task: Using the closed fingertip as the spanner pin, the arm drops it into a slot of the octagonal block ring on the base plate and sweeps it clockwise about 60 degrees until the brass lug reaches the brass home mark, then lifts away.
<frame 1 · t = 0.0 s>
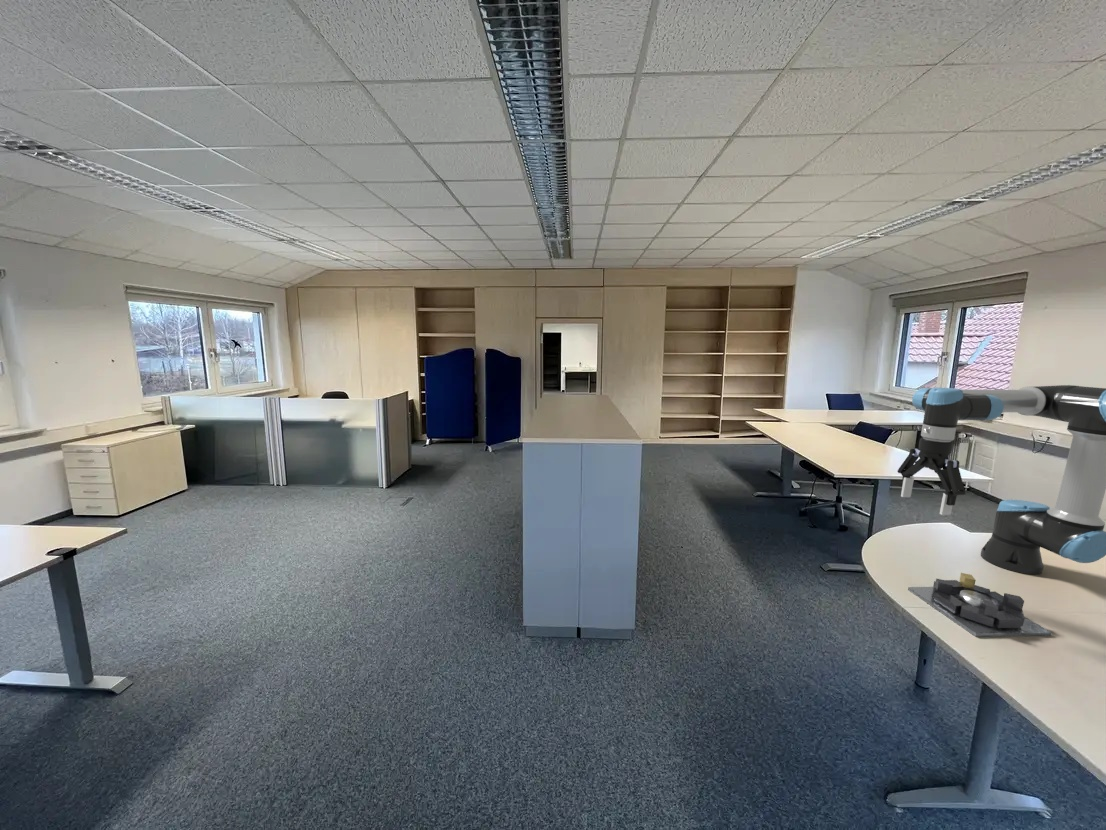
hand: (924, 505, 130), 28 cm above the table, fingers open, 13 cm apart
base plate: (973, 610, 123), on the table
octagonal block ring: (976, 597, 122), point 4 cm above the table, hinge at 0.0°
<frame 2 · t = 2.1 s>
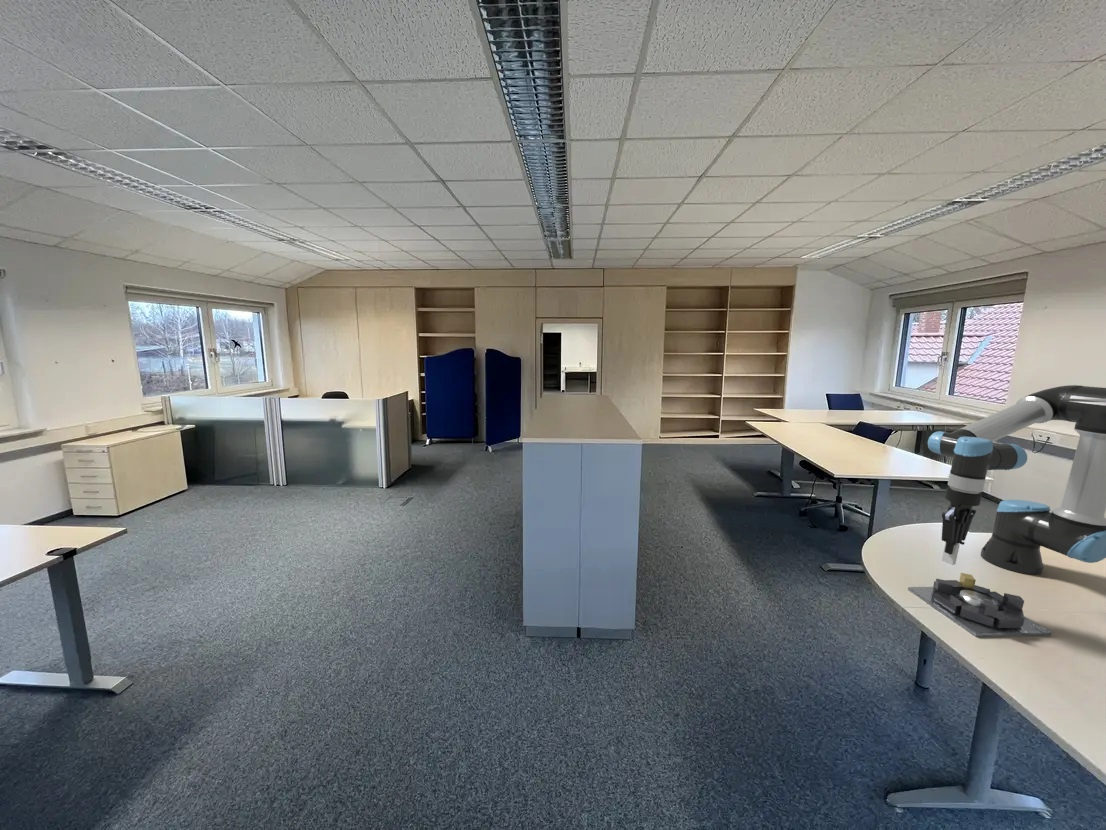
hand: (948, 562, 127), 12 cm above the table, fingers closed
nothing on the table moved.
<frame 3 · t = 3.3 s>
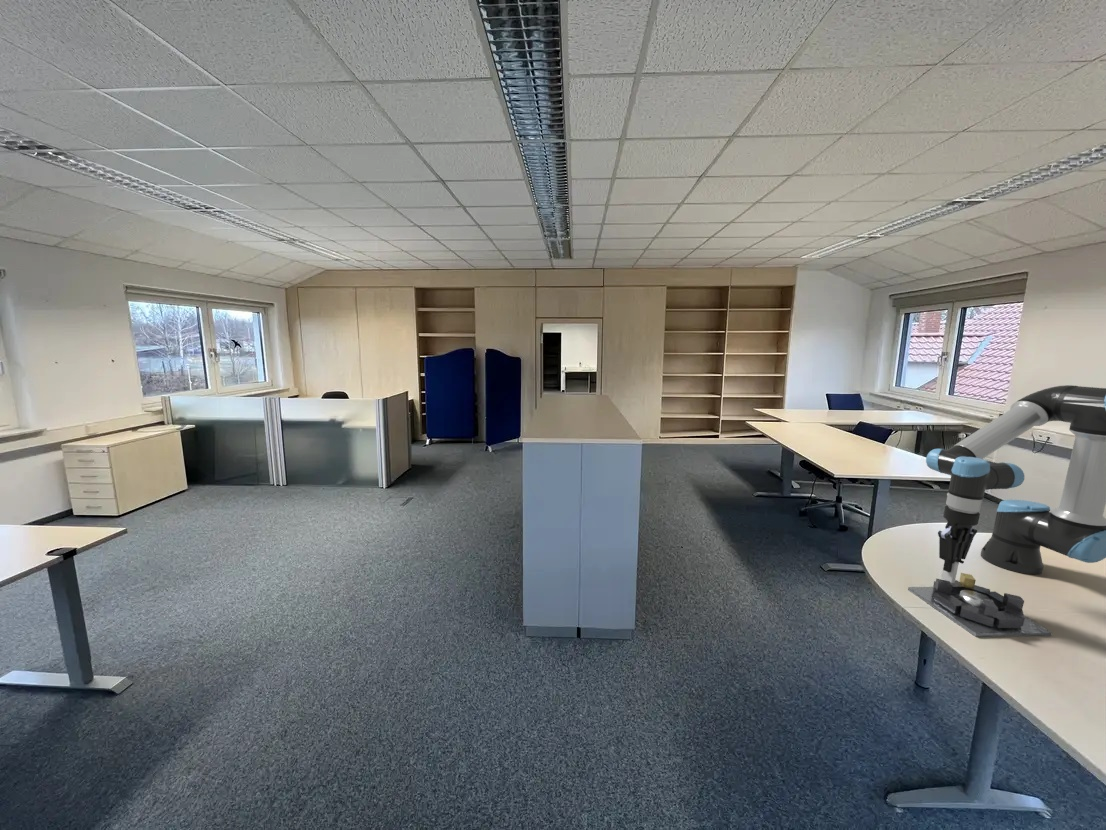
hand: (947, 580, 128), 5 cm above the table, fingers closed
nothing on the table moved.
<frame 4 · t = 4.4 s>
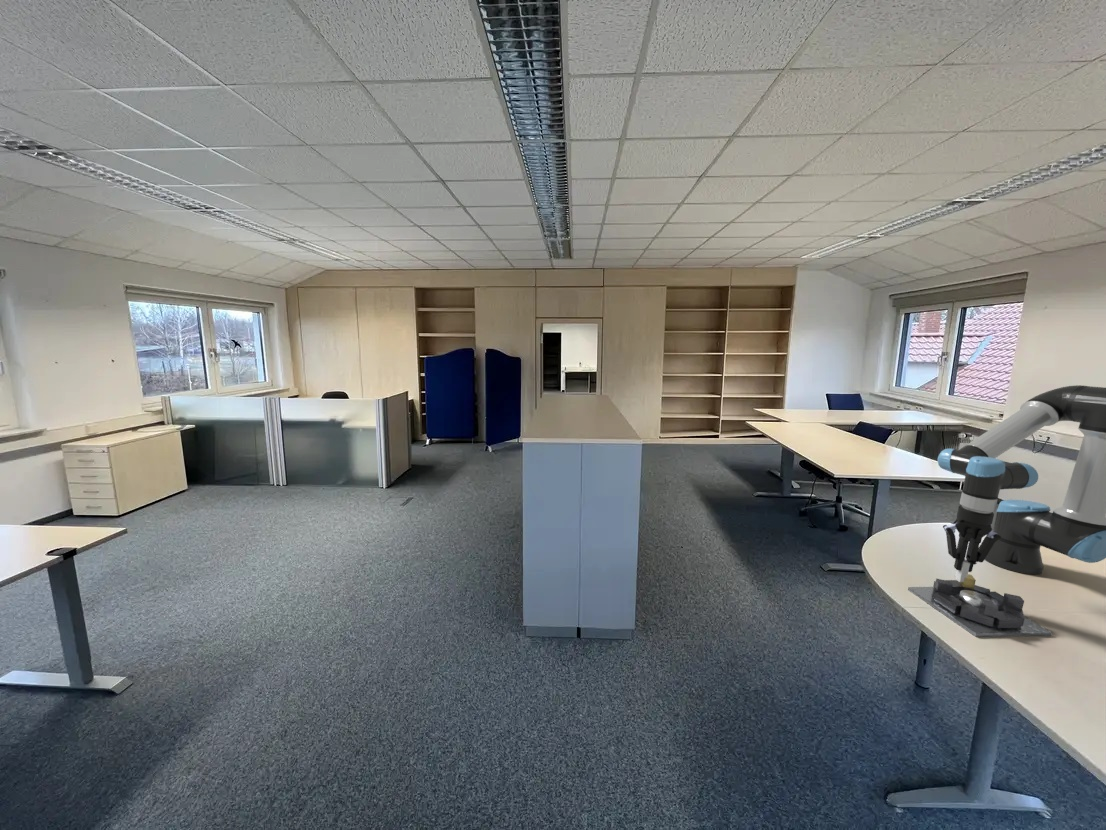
hand: (960, 579, 129), 6 cm above the table, fingers closed
octagonal block ring: (976, 597, 122), point 4 cm above the table, hinge at -0.1°, touching gripper
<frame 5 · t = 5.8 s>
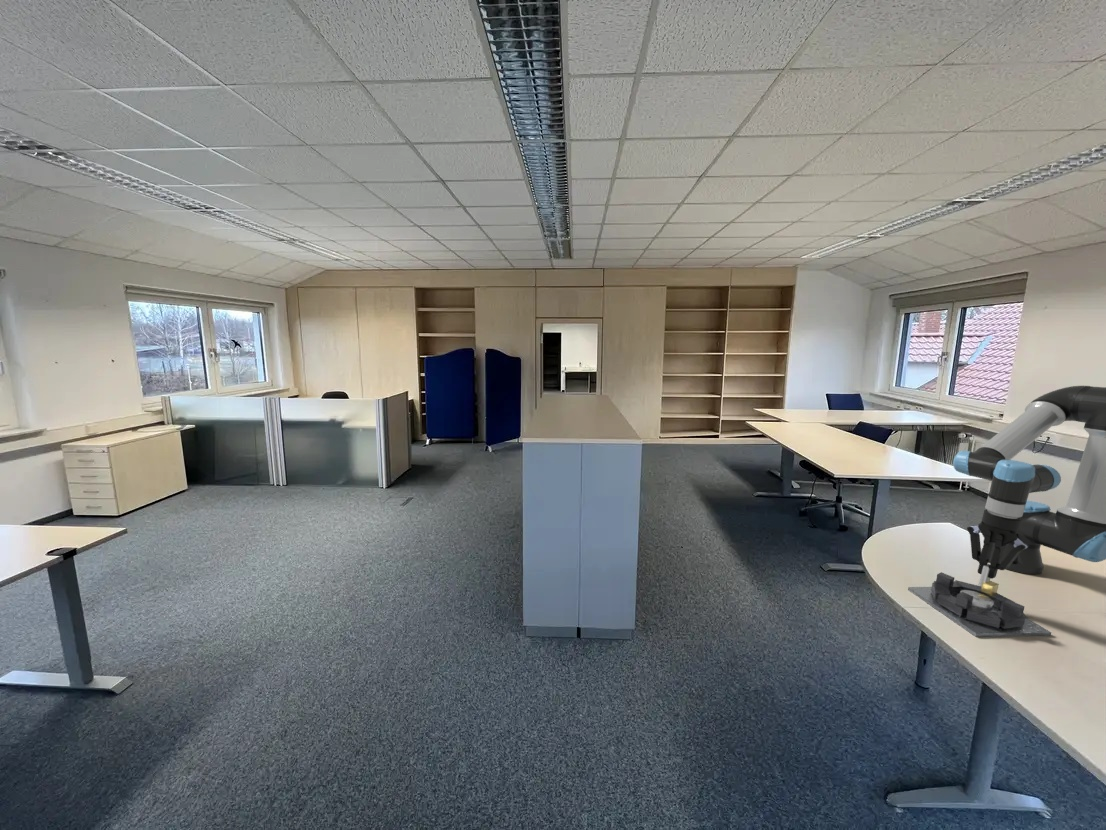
hand: (983, 585, 126), 6 cm above the table, fingers closed
octagonal block ring: (976, 597, 122), point 4 cm above the table, hinge at -37.3°, touching gripper
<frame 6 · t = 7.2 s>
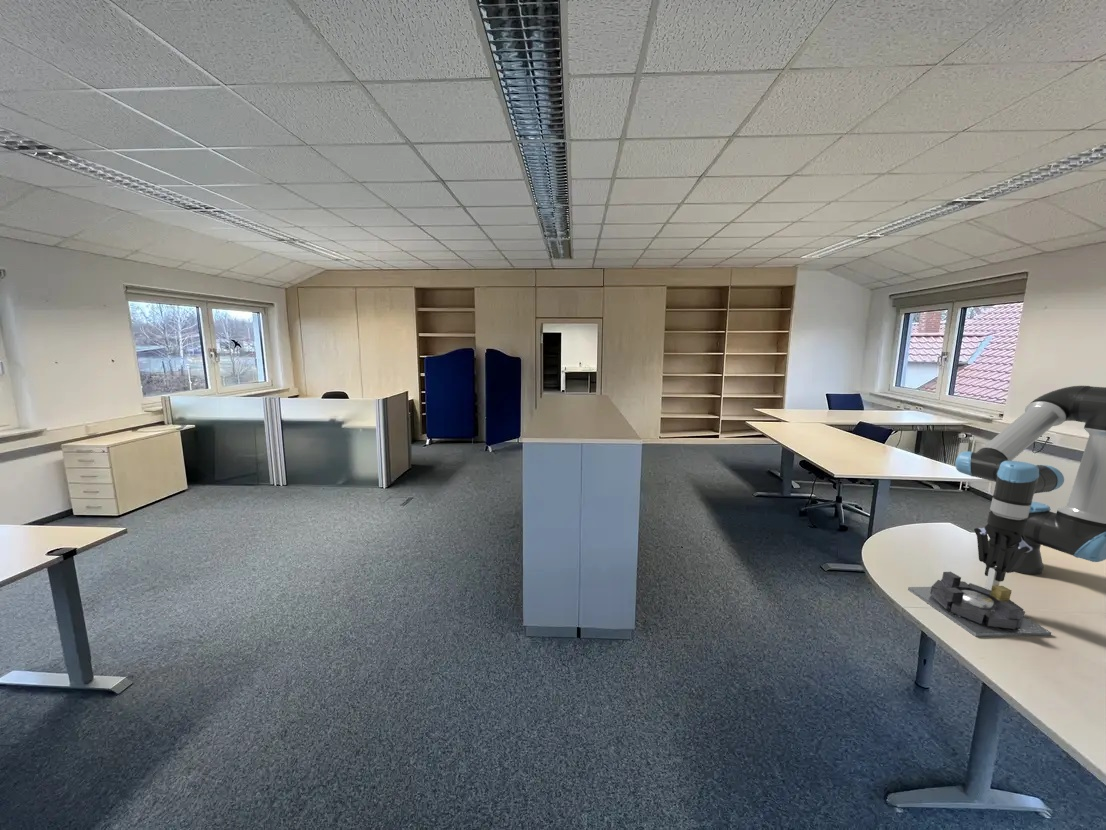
hand: (991, 588, 124), 6 cm above the table, fingers closed
octagonal block ring: (976, 597, 122), point 4 cm above the table, hinge at -57.4°
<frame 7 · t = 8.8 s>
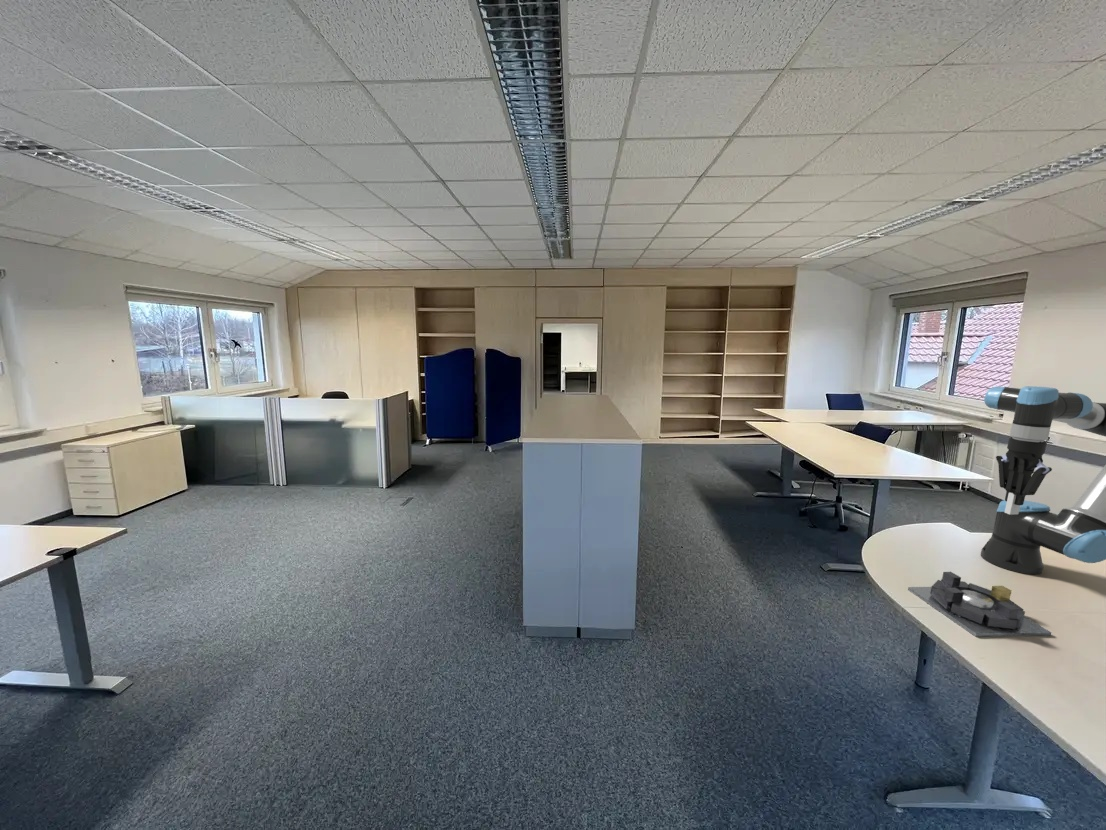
hand: (1011, 513, 128), 26 cm above the table, fingers closed
nothing on the table moved.
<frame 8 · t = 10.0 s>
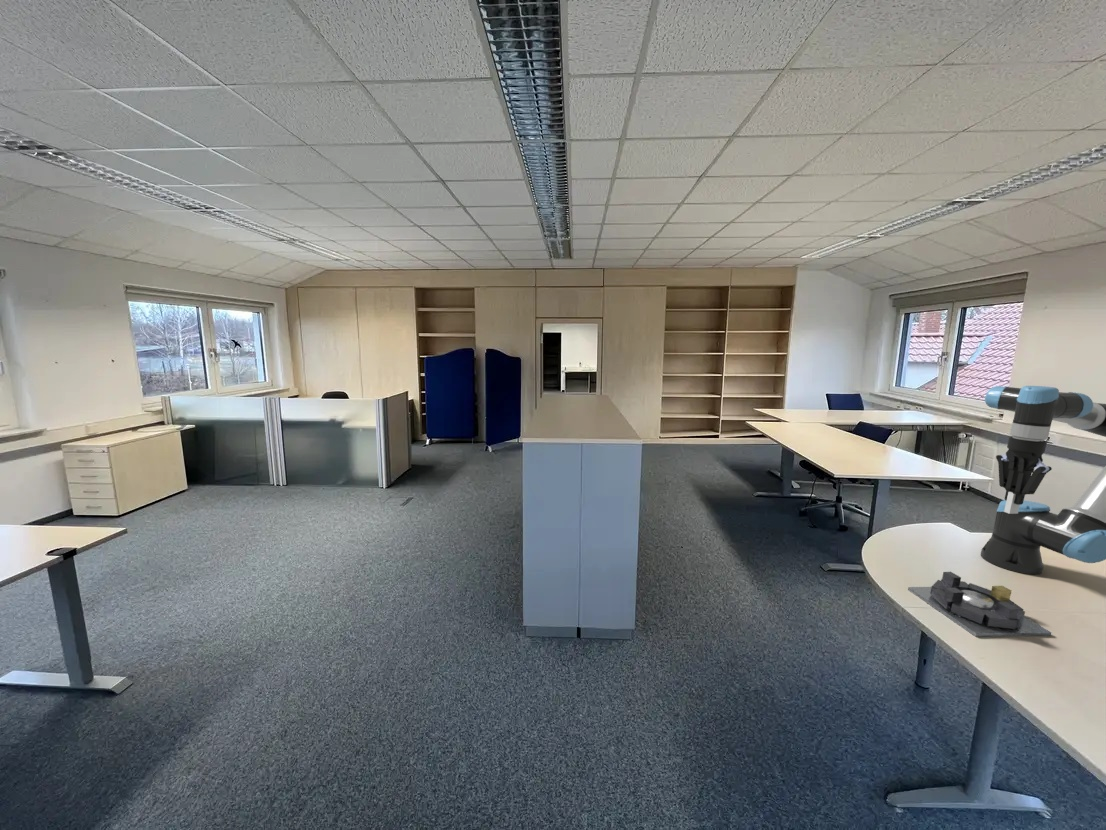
hand: (1010, 512, 128), 26 cm above the table, fingers closed
nothing on the table moved.
at the end: octagonal block ring at -57° (first picture: +0°) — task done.
